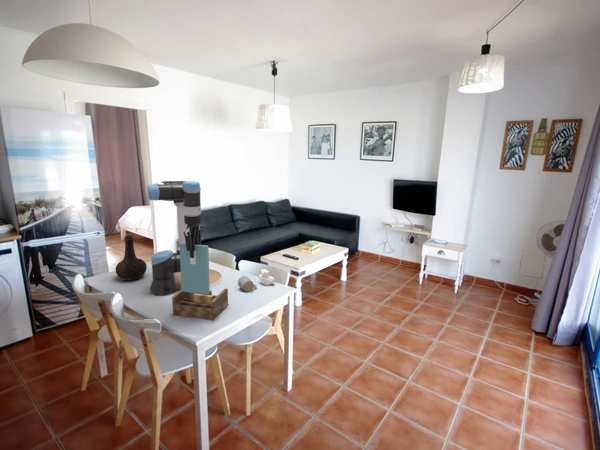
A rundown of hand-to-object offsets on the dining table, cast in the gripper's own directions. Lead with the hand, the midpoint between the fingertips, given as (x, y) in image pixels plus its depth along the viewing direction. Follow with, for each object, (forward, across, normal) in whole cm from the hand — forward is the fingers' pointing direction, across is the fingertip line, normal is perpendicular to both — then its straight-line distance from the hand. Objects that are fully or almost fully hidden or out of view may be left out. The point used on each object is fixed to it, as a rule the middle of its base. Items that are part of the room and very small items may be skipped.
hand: (194, 263), depth 151 cm
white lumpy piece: (+29, +50, -21) cm, 61 cm away
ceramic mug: (+29, +39, -13) cm, 50 cm away
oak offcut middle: (+27, +7, +2) cm, 28 cm away
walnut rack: (+28, +6, 0) cm, 29 cm away
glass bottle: (+29, +37, +65) cm, 80 cm away
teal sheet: (+15, 0, 0) cm, 15 cm away
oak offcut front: (+27, +4, -2) cm, 27 cm away
